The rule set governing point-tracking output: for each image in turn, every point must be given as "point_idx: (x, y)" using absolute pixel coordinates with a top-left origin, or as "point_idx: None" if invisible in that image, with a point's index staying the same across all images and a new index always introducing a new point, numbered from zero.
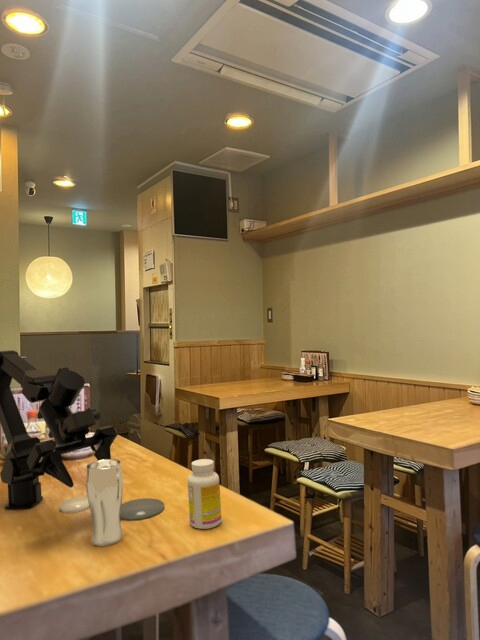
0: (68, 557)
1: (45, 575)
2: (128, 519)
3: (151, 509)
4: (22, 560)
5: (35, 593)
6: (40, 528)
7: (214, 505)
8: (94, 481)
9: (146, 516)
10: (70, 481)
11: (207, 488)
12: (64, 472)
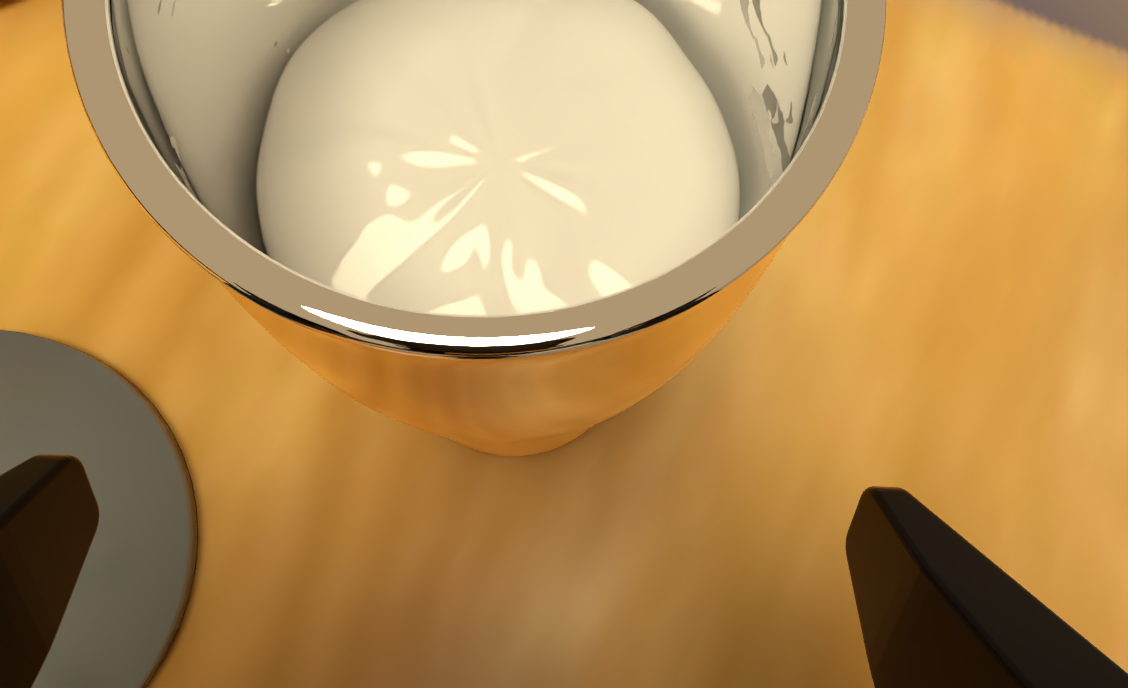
0: (833, 351)
1: (1035, 276)
2: (183, 469)
3: None
4: (1053, 603)
5: None
6: None
7: None
8: (777, 14)
9: (82, 354)
10: (937, 518)
11: None
12: (1109, 676)
